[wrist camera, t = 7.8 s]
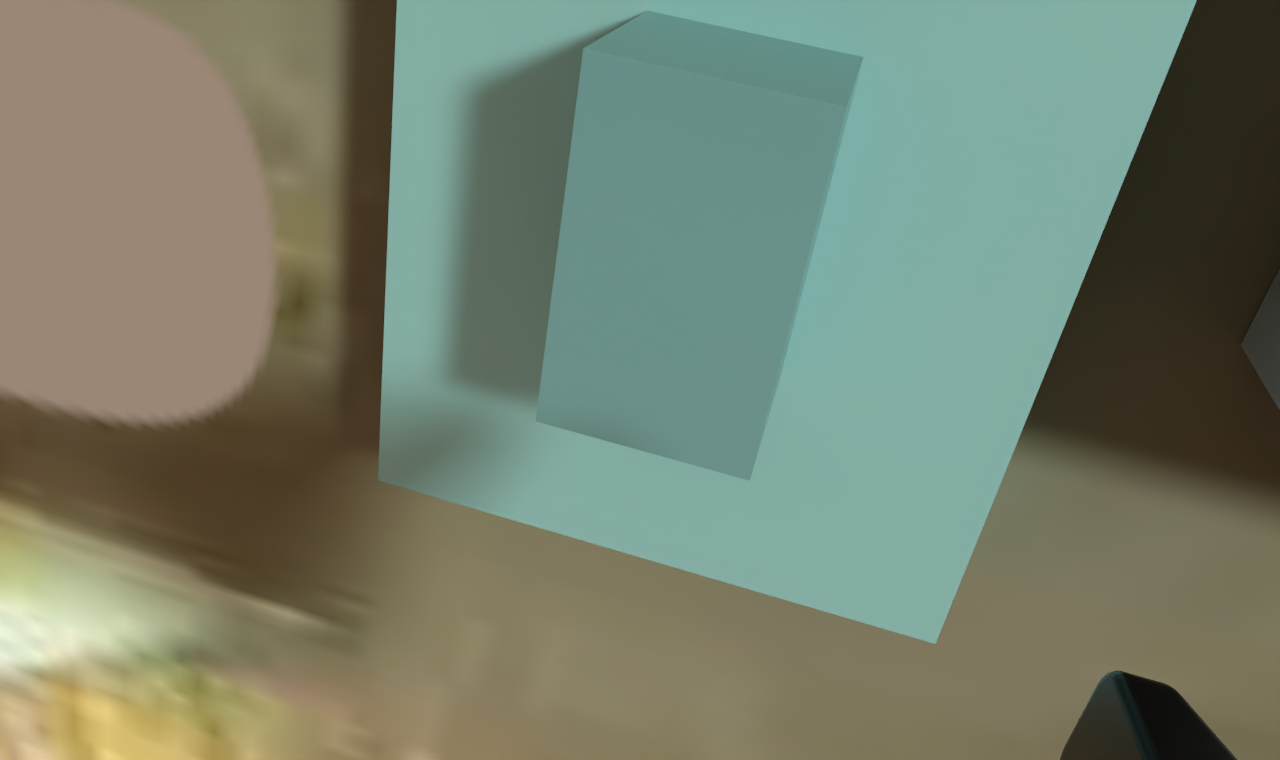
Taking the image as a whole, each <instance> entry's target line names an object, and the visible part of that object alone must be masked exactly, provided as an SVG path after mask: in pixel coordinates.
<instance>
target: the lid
mask: <svg viewBox="0 0 1280 760" xmlns="http://www.w3.org/2000/svg"><path fill="white" fill-rule="evenodd" d="M1196 1H1197V0H397V12H396V37H395V62H394V87H393V113H392V138H391V163H390V188H389V213H388V239H387V264H386V289H385V314H384V339H383V365H382V390H381V415H380V440H379V465H378V481H381V482H385V483H388V484H392V485H395V486H398V487H402V488H405V489H409V490H412V491H416V492H419V493H422V494H426V495H429V496H433V497H436V498H439V499H443V500H446V501H450V502H453V503H456V504H460V505H463V506H467V507H470V508H474V509H477V510H480V511H484V512H487V513H491V514H494V515H497V516H501V517H504V518H508V519H511V520H514V521H518V522H521V523H525V524H528V525H531V526H535V527H538V528H542V529H545V530H549V531H552V532H555V533H559V534H562V535H566V536H569V537H572V538H576V539H579V540H583V541H586V542H589V543H593V544H596V545H600V546H603V547H606V548H610V549H613V550H617V551H620V552H624V553H627V554H630V555H634V556H637V557H641V558H644V559H647V560H651V561H654V562H658V563H661V564H664V565H668V566H671V567H675V568H678V569H681V570H685V571H688V572H692V573H695V574H699V575H702V576H705V577H709V578H712V579H716V580H719V581H722V582H726V583H729V584H733V585H736V586H739V587H743V588H746V589H750V590H753V591H756V592H760V593H763V594H767V595H770V596H774V597H777V598H780V599H784V600H787V601H791V602H794V603H797V604H801V605H804V606H808V607H811V608H814V609H818V610H821V611H825V612H828V613H831V614H835V615H838V616H842V617H845V618H849V619H852V620H855V621H859V622H862V623H866V624H869V625H872V626H876V627H879V628H883V629H886V630H889V631H893V632H896V633H900V634H903V635H907V636H910V637H913V638H917V639H920V640H924V641H927V642H930V643H934V644H936V641H937V639H938V636H939V634H940V631H941V629H942V626H943V624H944V621H945V619H946V616H947V614H948V612H949V609H950V607H951V604H952V602H953V599H954V597H955V594H956V592H957V589H958V587H959V584H960V582H961V580H962V577H963V575H964V572H965V570H966V567H967V565H968V562H969V560H970V557H971V555H972V552H973V550H974V548H975V545H976V543H977V540H978V538H979V535H980V533H981V530H982V528H983V525H984V523H985V520H986V518H987V516H988V513H989V511H990V508H991V506H992V503H993V501H994V498H995V496H996V493H997V491H998V488H999V486H1000V484H1001V481H1002V479H1003V476H1004V474H1005V471H1006V469H1007V466H1008V464H1009V461H1010V459H1011V456H1012V454H1013V451H1014V449H1015V447H1016V444H1017V442H1018V439H1019V437H1020V434H1021V432H1022V429H1023V427H1024V424H1025V422H1026V419H1027V417H1028V415H1029V412H1030V410H1031V407H1032V405H1033V402H1034V400H1035V397H1036V395H1037V392H1038V390H1039V387H1040V385H1041V383H1042V380H1043V378H1044V375H1045V373H1046V370H1047V368H1048V365H1049V363H1050V360H1051V358H1052V355H1053V353H1054V351H1055V348H1056V346H1057V343H1058V341H1059V338H1060V336H1061V333H1062V331H1063V328H1064V326H1065V323H1066V321H1067V319H1068V316H1069V314H1070V311H1071V309H1072V306H1073V304H1074V301H1075V299H1076V296H1077V294H1078V291H1079V289H1080V287H1081V284H1082V282H1083V279H1084V277H1085V274H1086V272H1087V269H1088V267H1089V264H1090V262H1091V259H1092V257H1093V255H1094V252H1095V250H1096V247H1097V245H1098V242H1099V240H1100V237H1101V235H1102V232H1103V230H1104V227H1105V225H1106V223H1107V220H1108V218H1109V215H1110V213H1111V210H1112V208H1113V205H1114V203H1115V200H1116V198H1117V195H1118V193H1119V191H1120V188H1121V186H1122V183H1123V181H1124V178H1125V176H1126V173H1127V171H1128V168H1129V166H1130V163H1131V161H1132V159H1133V156H1134V154H1135V151H1136V149H1137V146H1138V144H1139V141H1140V139H1141V136H1142V134H1143V131H1144V129H1145V127H1146V124H1147V122H1148V119H1149V117H1150V114H1151V112H1152V109H1153V107H1154V104H1155V102H1156V99H1157V97H1158V95H1159V92H1160V90H1161V87H1162V85H1163V82H1164V80H1165V77H1166V75H1167V72H1168V70H1169V67H1170V65H1171V63H1172V60H1173V58H1174V55H1175V53H1176V50H1177V48H1178V45H1179V43H1180V40H1181V38H1182V35H1183V33H1184V31H1185V28H1186V26H1187V23H1188V21H1189V18H1190V16H1191V13H1192V11H1193V8H1194V6H1195V3H1196Z"/></svg>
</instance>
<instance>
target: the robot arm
mask: <svg viewBox="0 0 1280 760" xmlns="http://www.w3.org/2000/svg"><path fill="white" fill-rule="evenodd" d="M1060 760H1237V759H1236V758H1235V757H1234V755H1233V754H1232V753H1231V752H1230V751H1229V750H1228V749H1227V747H1226V746H1225V745H1224V744H1223V743H1222V742H1221V741H1220V739H1219V738H1218V737H1217V736H1216V735H1215V734H1214V733H1213V731H1212V730H1211V729H1210V728H1209V727H1208V726H1207V725H1206V723H1205V722H1204V721H1203V720H1202V719H1201V718H1200V717H1199V715H1198V714H1197V713H1196V712H1195V711H1194V710H1193V709H1192V707H1191V706H1190V705H1189V704H1188V703H1187V702H1186V700H1185V699H1184V698H1183V697H1182V696H1181V695H1180V694H1179V693H1178V692H1177V691H1176V690H1175V689H1174V688H1172V687H1171V686H1169V685H1167V684H1164V683H1161V682H1157V681H1154V680H1150V679H1147V678H1143V677H1140V676H1137V675H1133V674H1130V673H1126V672H1123V671H1114V672H1110V673H1107V674H1106V675H1105V676H1104V677H1103V678H1102V679H1101V680H1100V682H1099V683H1098V685H1097V687H1096V688H1095V690H1094V692H1093V694H1092V696H1091V698H1090V700H1089V702H1088V704H1087V705H1086V707H1085V709H1084V711H1083V713H1082V715H1081V717H1080V719H1079V720H1078V722H1077V724H1076V726H1075V728H1074V730H1073V732H1072V734H1071V736H1070V737H1069V739H1068V741H1067V743H1066V745H1065V747H1064V749H1063V752H1062V755H1061V758H1060Z"/></svg>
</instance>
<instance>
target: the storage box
mask: <svg viewBox="0 0 1280 760" xmlns="http://www.w3.org/2000/svg"><path fill="white" fill-rule="evenodd" d="M1241 347H1242V349H1243V350H1244V352H1245V354H1246V355H1247V357H1248V359H1249V360H1250V362H1251V364H1252V365H1253V367H1254V369H1255V370H1256V372H1257V374H1258V375H1259V377H1260V379H1261V380H1262V382H1263V384H1264V385H1265V387H1266V389H1267V390H1268V392H1269V394H1270V395H1271V397H1272V399H1273V400H1274V402H1275V404H1276V405H1277V407H1278V409H1279V410H1280V269H1279V271H1278V272H1277V274H1276V276H1275V278H1274V280H1273V282H1272V284H1271V286H1270V288H1269V290H1268V292H1267V294H1266V296H1265V298H1264V300H1263V302H1262V304H1261V306H1260V308H1259V310H1258V312H1257V314H1256V316H1255V318H1254V320H1253V321H1252V323H1251V325H1250V327H1249V329H1248V331H1247V333H1246V335H1245V337H1244V339H1243V341H1242V343H1241Z"/></svg>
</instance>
